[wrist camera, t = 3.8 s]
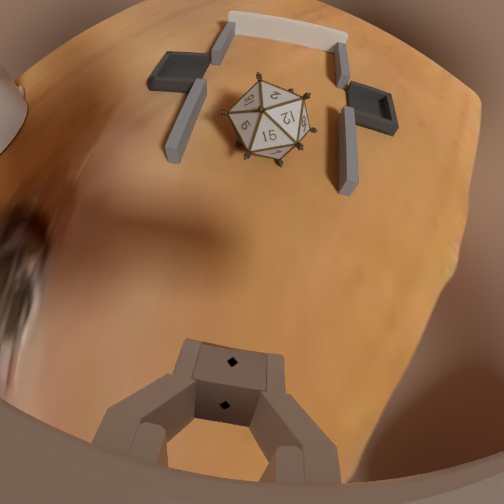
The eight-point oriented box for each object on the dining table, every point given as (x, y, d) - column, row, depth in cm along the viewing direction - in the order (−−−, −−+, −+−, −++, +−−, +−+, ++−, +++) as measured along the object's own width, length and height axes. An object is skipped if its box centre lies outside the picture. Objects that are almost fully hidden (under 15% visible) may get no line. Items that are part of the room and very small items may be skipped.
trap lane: (113, 156, 29) (103, 131, 25) (192, 27, 40) (191, 8, 36) (402, 210, 30) (421, 190, 26) (376, 62, 41) (384, 45, 37)
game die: (246, 159, 34) (222, 77, 29) (319, 146, 32) (302, 60, 27) (233, 194, 28) (199, 89, 22) (327, 179, 25) (306, 65, 20)
